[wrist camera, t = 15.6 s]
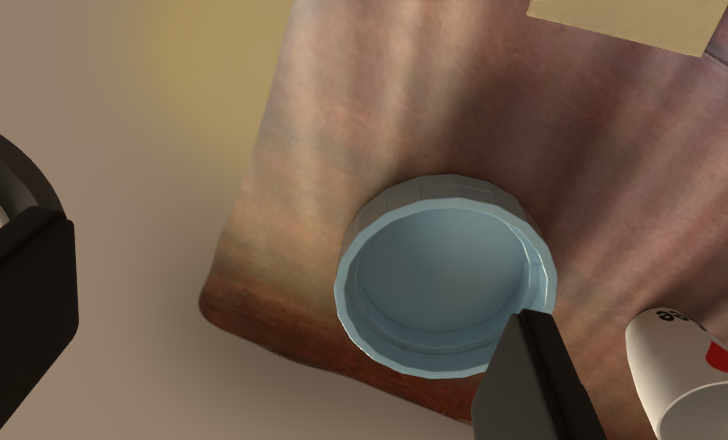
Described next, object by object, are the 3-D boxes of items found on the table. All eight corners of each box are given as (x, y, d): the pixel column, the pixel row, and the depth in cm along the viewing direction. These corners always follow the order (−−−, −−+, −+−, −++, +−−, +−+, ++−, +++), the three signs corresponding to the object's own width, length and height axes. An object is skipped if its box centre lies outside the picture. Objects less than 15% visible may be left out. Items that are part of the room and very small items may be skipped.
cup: (723, 330, 46) (803, 424, 37) (641, 379, 49) (696, 477, 40) (670, 275, 43) (740, 362, 34) (587, 330, 46) (633, 422, 38)
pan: (323, 321, 47) (317, 356, 43) (363, 151, 39) (360, 174, 35) (502, 357, 48) (511, 395, 44) (574, 198, 40) (594, 226, 36)
